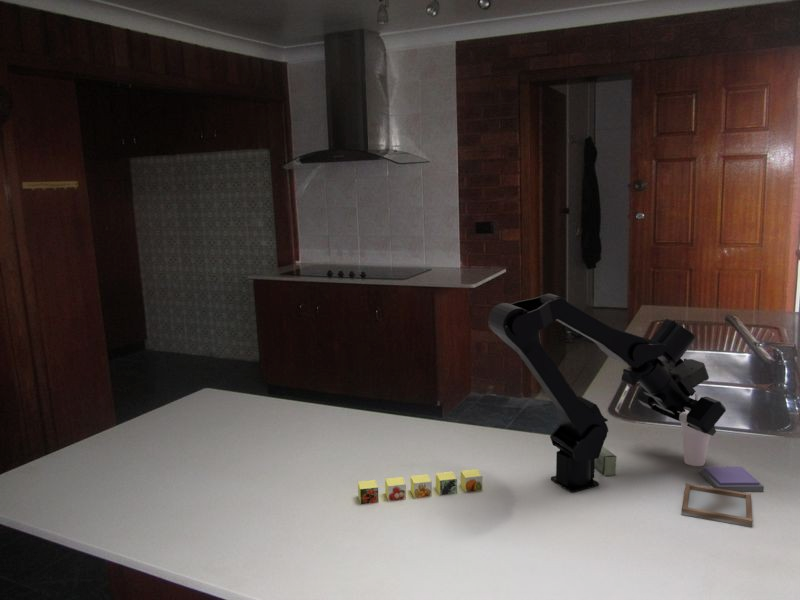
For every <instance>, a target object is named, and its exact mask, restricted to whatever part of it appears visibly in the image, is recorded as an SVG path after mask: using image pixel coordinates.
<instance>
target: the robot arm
mask: <svg viewBox="0 0 800 600" xmlns="http://www.w3.org/2000/svg"><path fill="white" fill-rule="evenodd" d="M554 321H556V322H558V323H560V324H561V325H562V326H566V327H568V328H569V329H571V330H572V331H574V332H576V333H578V334H580V335H582V336H583V337H585V338H587V339H588V340H590V341H592V342H594V343H595V344H596V345H597V347H598V348H599V350H601V352H603V353H604V354H605V355H606V356H607V357H609V358H610V359H612V361H613V360H614V361H617V362H619V363H621V364H624V365H626V366H628V367H627V368H623V370H622V372H623V373H622V375H621V382H623V383H625V384H627V385H630V386H633V387H635V386H636V385H637V384H638V383H639V385H640V386H641V387H642V388H641V389H639V391H638V392H637V401H639V403H640V404H641V405H642V406H644V407H646V408H649V409H652V410H651V411H653V412H656V413H658V414H660V415H663V416H665V417H668V418H671V419H672V420H673V419H674V420H675V421H679V422H680V423H681V421H680V420H679V415H680V413H682V412H686V411H690V412H689V413H688V414H687V420H686V422H687V423H688V425H687V426H689V427H691V428H693V429H695V430H698V431H701V432H703V433H706V434H709V435H710V436H712V437H713V436H715V434H716V433H717V430H716V426H715V425H716V424H717V423H718V422H719V420H720V419H721V417H722V416H723V415H724V414H725V412H726V410H727V409H726V406H724V404H723V403H722V402H721V401H720V400H716V399H715V398H712V397H709V396H701V397H700V398H698V401H697V400H695V398H692V397H693V396H694V395H695V394H696V389H695V388H696V387H697V386H699V385H701V384H702V383H704V382H707V381H708V380H709V379H710V375H709V373H708V370H707V368H706V365H705V363H704V362H702V361H698V360H695V359H693V358H688V359H687V358H684V359H682V357H683V356H684V355H685V354H686V352H687V351H688V350H689V349H690V348H691V346H692V345H693V344H694V343H695V341H696V338H697V337H696V336H695V335H694V334H693V332H692V331H690V330H687V329H686V328H685V327H683V326H682V325H681V324H679V323H677V322H676V321H675V320H673V319H671V318H666V319H665V320H664V321H663V322H662V324H661V325H660V328H658V329H657V331H656V332H655V333H654V335H652V336H651V338H650V339H649V338H647V337H643V336H640V335H637V334H633V333H629V332H628V331H624V330H620V329H617V328H615V327H612V326H610V325H609V324H607V323H605V322H604V321H602V320H600V319H598V318H597V317H594V316H593V315H591V314H590V313H588V312H586V311H584V310H583V309H581V308H579V307H578V306H576V305H573V304H572V303H570V302H568V301H567V300H566V298H564V297H562V296H560V295H556V294H553V293H545V294H542V295H539V296H537V297H533V298H528V299H523V300H518V301H515V302H512V303H508V302H502V303H498V304H497V305H495V306H494V307H492V309H491V311H490V312H489V316H488V320H487V322H488V323H487V324H488V326H489V329H490V330H491V331H492V332H493V333H494V334H495V335H497V337H498V338H499V339H500V340H501V341H503V342H504V343H505V344H506V345H508V346H509V347H510V348H511V349H512V350H513V351H515V352H516V353H517V354H518V355H519V357H520V358H521V360H522V361H523V363H524V364H525V365H526V367H527V368H528V370H529V371H530V372H531V374H532V376H533V377H534V378H535V379H536V382H538V384H539V385H540V387H541V388H542V389H543V391H544V392H545V393H546V395H547V396H548V398H549V400H550V401H551V402H552V404H553V405H554V406H555V408H556V411H557V419H558V421H559V425H557V427H556V428H555V429H554V431H552V433H551V434H550V436H549V437H550V440H551V443H552V446H554V447H556V448H557V449H559V450H558V451H557V450H556V453H555V454H556V459H555V460H556V461H555V462H556V465H555V466H556V467H555V475H553V476H551V477H550V480H551V481H552V482H554V483H555V484H557V485H559V486H560V487H562V488H564V489H566V490H567V491H569V492H571V493H575V492H580V491H583V490H587V489H591V488H596V487H598V486H600V482H598V481H597V480H595V470H596V469H595V459H597V458H599V455H600V452H601V449H602V446H603V447H604V443H605V440H606V439H607V435H608V433H609V427H608V425H607V423H606V422H609V421H608V419H607V418H606V417H604V415H603V414H602V412H601V409H600V408H599V406H598V404H597V403H594V402H592V401H591V400H588V399H586V398H585V397H583V396H581V395H577V394H576V393H575V391H574V390H573V388H572V386H571V385H570V384H569V382H568V381H567V379H566V377H565V376H564V375H563V374H562V372H561V371H560V369H559V368H558V366H557V365H556V363H555V362H554V360H553V359H552V357H551V356H550V355H549V353H548V351H547V350H546V349H545V348H544V345H543V344H542V342H541V336H540V330H543V329H545V328H546V327H547V326H549V325H550V324H551V323H552V322H554ZM664 363H665V364H668V368H667V366H666V365H665V364H664Z"/></svg>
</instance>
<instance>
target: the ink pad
mask: <svg viewBox="0 0 800 600" xmlns="http://www.w3.org/2000/svg"><path fill="white" fill-rule="evenodd" d="M699 471H700V472H699V474H701V476H702V477H703V478H704V479H705V480H706V481H707V482H708V483H709V484H710V485H711V487H712V488H718V489H725V490H731V491H737V492H743V493H749V492H751V493H753V492H755V493H756V492H759V493H760V492H762V493H763V492H764V491H765V490H764V488H765V487H764V485H763V484H761V482H760V481H758V480H757V479H756V478H755V477H754V476H753V475H752V474H751V473H749V471H747V469H745V468H744V467H743V466H704V467H700V470H699Z"/></svg>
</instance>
